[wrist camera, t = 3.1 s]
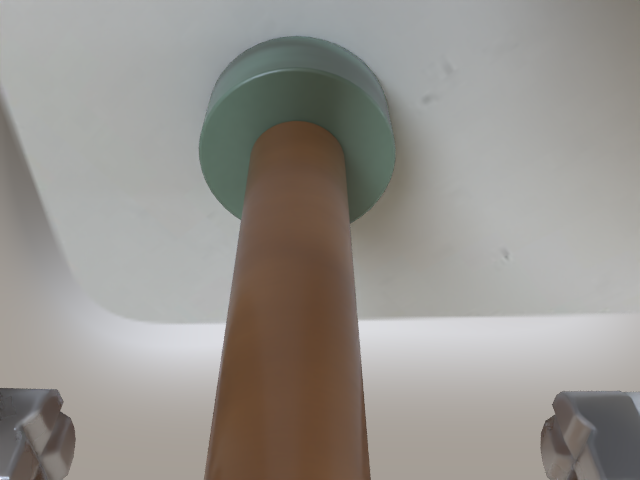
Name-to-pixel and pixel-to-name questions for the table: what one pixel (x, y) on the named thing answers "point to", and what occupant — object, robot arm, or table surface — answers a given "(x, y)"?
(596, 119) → the table surface
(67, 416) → the robot arm
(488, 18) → the table surface
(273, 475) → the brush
